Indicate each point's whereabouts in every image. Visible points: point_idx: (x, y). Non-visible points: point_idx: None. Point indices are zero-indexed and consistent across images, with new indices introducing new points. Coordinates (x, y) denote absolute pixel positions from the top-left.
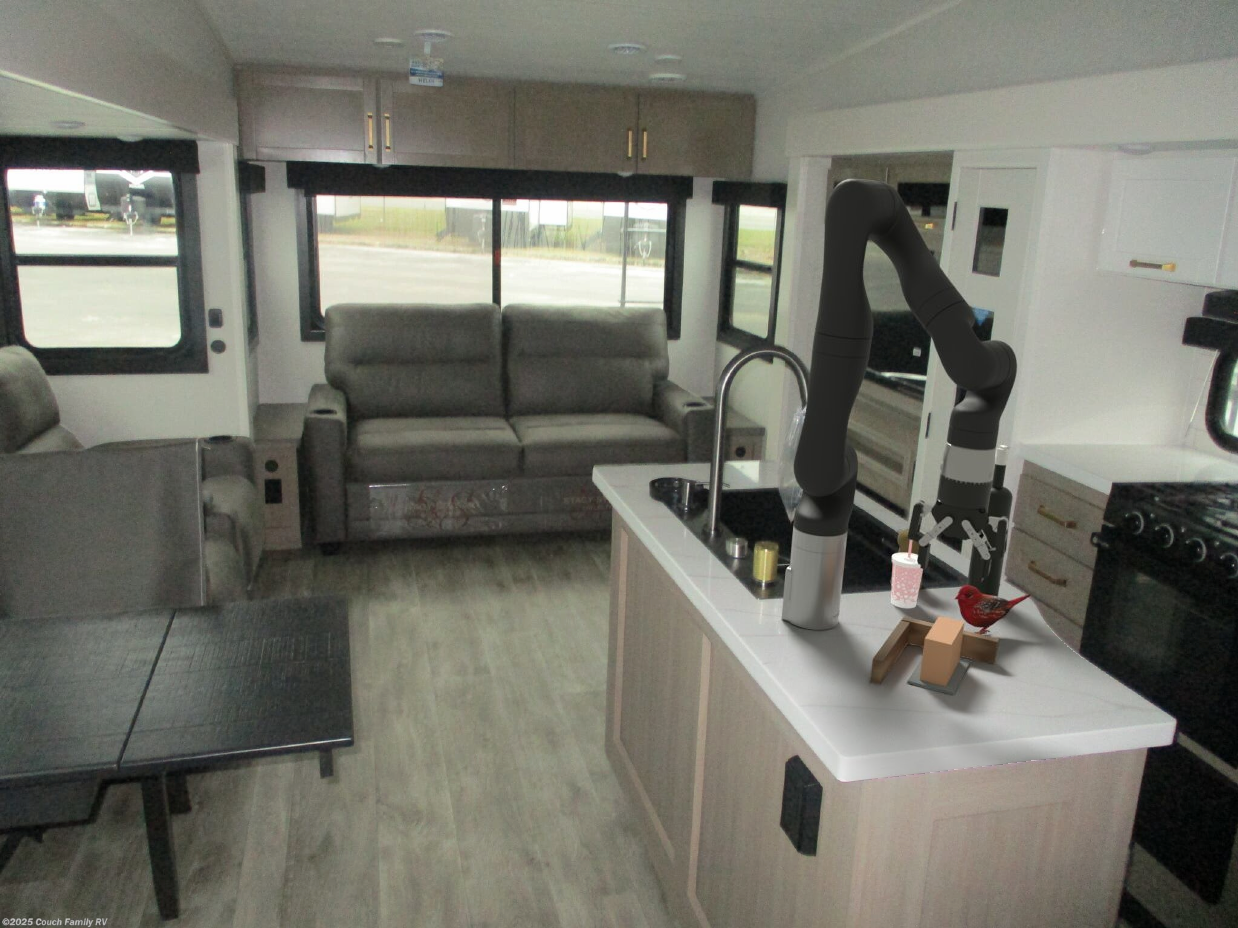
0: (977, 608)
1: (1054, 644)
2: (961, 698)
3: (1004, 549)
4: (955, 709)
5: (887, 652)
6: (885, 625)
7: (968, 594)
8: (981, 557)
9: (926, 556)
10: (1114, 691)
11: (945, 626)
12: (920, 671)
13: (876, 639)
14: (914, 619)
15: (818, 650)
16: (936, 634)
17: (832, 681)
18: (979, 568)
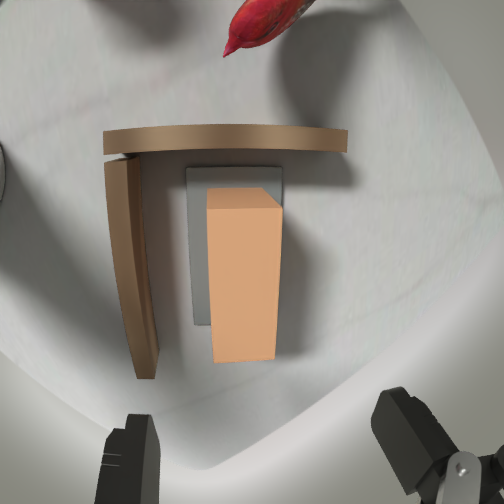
0: (285, 27)
1: (403, 10)
2: (288, 320)
3: (501, 496)
4: (284, 355)
5: (145, 345)
6: (76, 91)
7: (266, 33)
8: (416, 484)
9: (158, 498)
10: (481, 159)
11: (240, 271)
12: (203, 278)
13: (80, 174)
14: (131, 132)
15: (30, 289)
16: (231, 331)
17: (101, 372)
18: (392, 464)
